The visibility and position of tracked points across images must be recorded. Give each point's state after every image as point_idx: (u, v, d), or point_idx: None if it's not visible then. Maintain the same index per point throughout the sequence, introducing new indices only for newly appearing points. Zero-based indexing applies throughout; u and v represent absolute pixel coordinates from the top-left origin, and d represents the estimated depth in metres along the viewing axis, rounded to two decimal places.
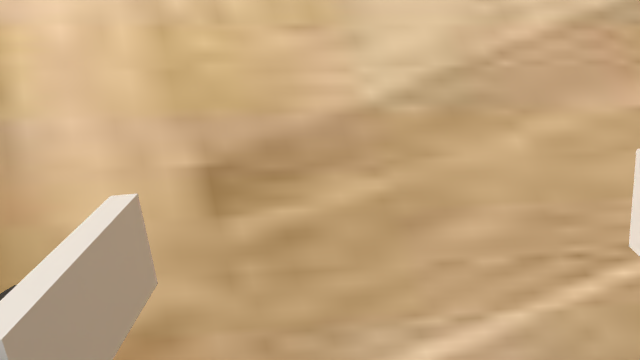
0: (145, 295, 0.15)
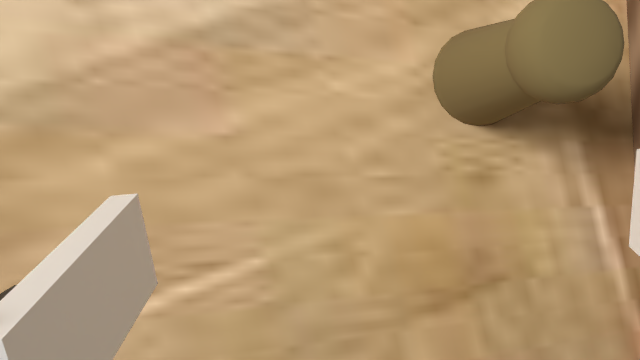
0: (145, 295, 0.15)
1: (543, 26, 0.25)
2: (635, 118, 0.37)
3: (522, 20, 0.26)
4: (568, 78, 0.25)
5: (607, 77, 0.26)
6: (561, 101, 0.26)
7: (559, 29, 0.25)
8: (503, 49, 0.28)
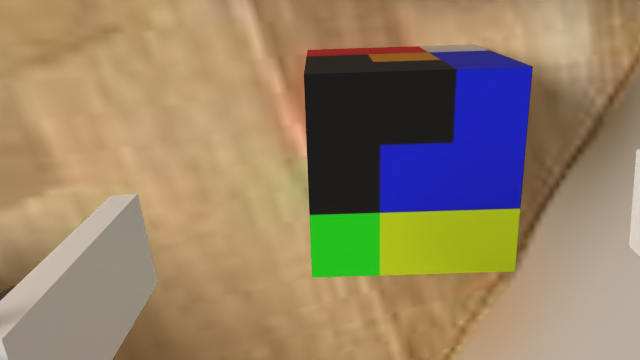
0: (145, 295, 0.15)
1: None
2: None
3: None
4: None
5: None
6: None
7: None
8: None
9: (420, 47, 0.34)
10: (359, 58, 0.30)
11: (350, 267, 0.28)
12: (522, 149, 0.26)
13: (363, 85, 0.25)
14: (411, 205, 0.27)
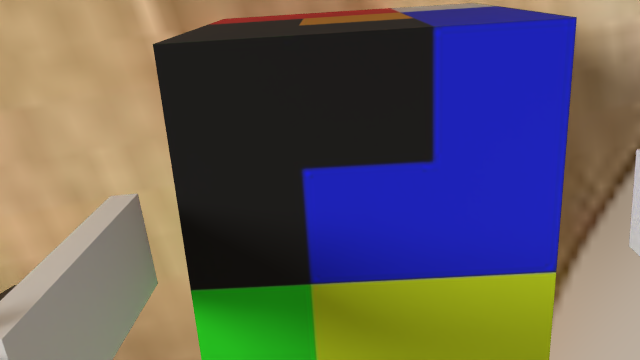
0: (145, 295, 0.15)
1: None
2: None
3: None
4: None
5: None
6: None
7: None
8: None
9: (391, 8, 0.22)
10: (283, 23, 0.18)
11: None
12: (559, 170, 0.15)
13: (263, 62, 0.14)
14: (364, 270, 0.16)
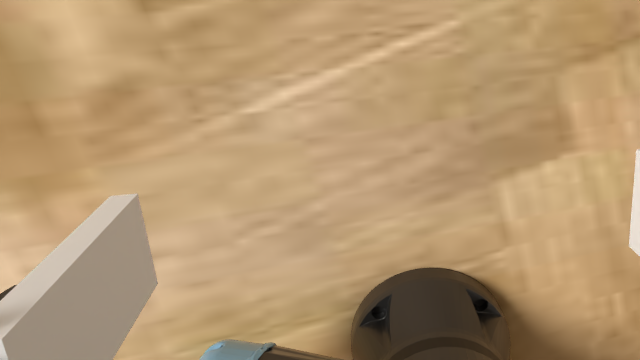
0: (145, 295, 0.15)
1: None
2: None
3: None
4: None
5: None
6: None
7: None
8: None
9: None
10: None
11: None
12: None
13: None
14: None
